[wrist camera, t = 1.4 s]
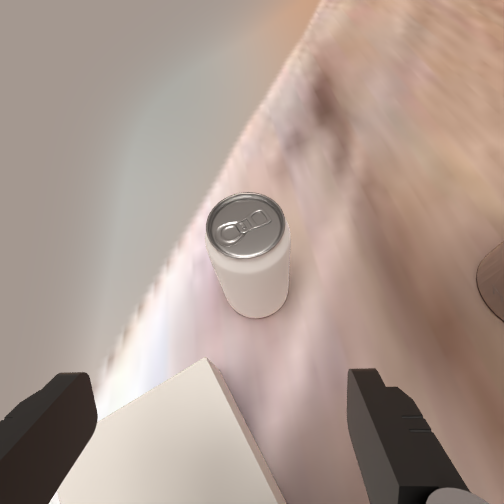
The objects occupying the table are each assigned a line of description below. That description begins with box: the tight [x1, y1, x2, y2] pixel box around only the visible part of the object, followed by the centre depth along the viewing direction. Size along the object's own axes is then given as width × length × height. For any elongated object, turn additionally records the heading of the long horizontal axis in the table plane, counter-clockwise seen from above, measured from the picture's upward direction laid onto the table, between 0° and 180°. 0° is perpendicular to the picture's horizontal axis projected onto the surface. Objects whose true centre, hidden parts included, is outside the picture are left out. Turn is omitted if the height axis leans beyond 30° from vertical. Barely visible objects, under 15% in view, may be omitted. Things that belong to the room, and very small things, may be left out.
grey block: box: [57, 357, 287, 504], centre depth 23 cm, size 12×12×6 cm
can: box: [205, 192, 291, 318], centre depth 27 cm, size 6×6×12 cm
